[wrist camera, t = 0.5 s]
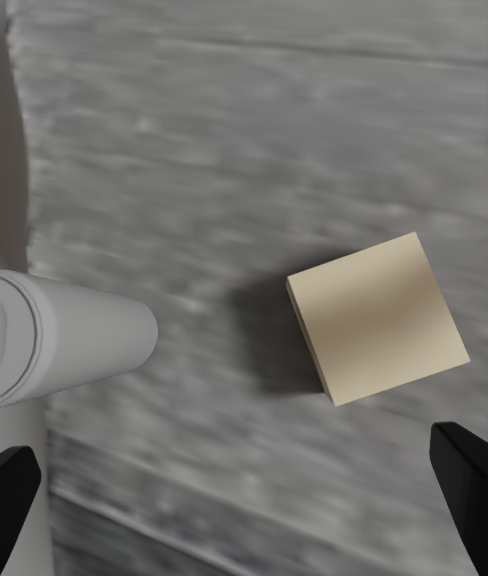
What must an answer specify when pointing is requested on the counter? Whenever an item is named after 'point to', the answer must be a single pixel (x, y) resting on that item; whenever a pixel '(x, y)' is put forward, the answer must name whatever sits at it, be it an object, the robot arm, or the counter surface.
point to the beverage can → (66, 336)
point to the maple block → (375, 320)
